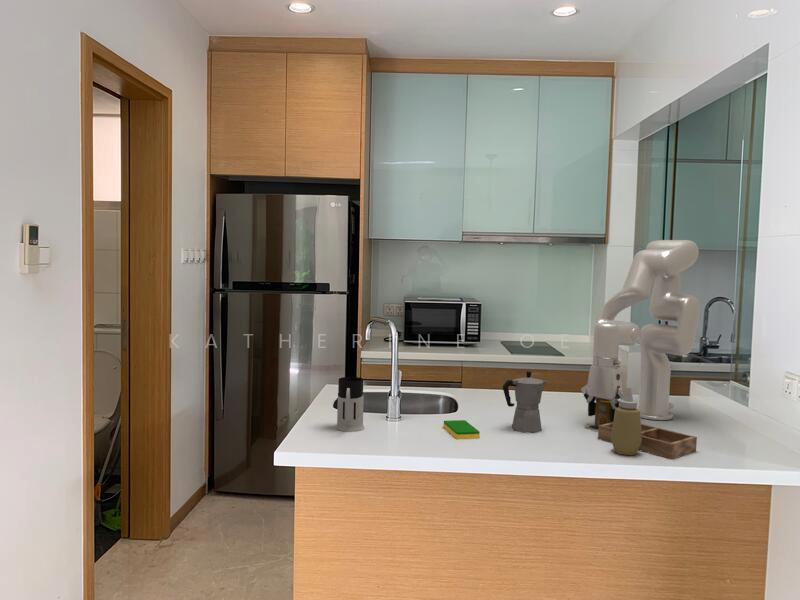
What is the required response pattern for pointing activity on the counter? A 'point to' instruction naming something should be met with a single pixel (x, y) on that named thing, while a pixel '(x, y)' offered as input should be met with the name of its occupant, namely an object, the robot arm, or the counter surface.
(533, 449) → the counter surface
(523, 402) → the coffeepot
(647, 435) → the caddy
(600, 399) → the condiment
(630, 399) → the squeeze bottle
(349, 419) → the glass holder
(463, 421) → the dish sponge
